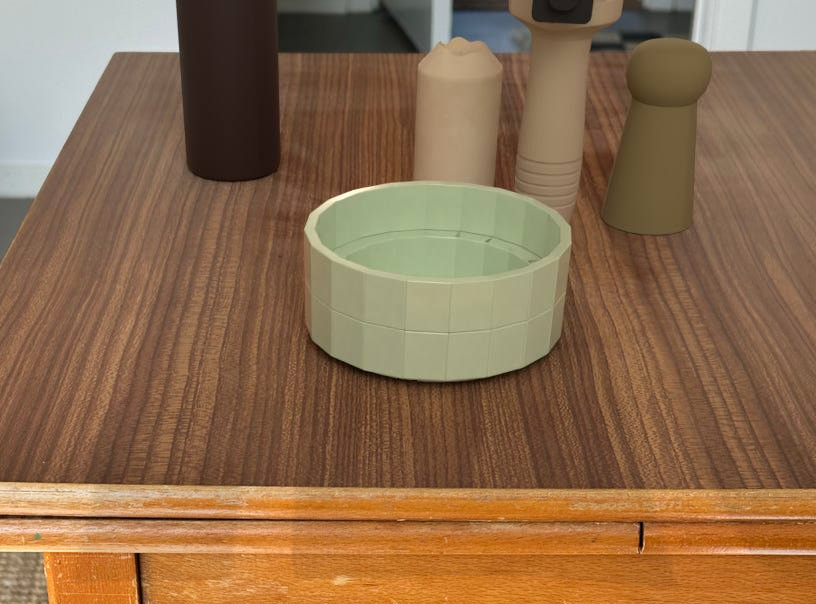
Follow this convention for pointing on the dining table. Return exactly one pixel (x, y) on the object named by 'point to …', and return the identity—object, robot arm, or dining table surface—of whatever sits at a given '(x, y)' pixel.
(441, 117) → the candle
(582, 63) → the handle
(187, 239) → the dining table surface
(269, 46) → the bottle
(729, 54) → the dining table surface
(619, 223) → the olive brown knobbed cone
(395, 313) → the bowl
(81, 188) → the dining table surface
